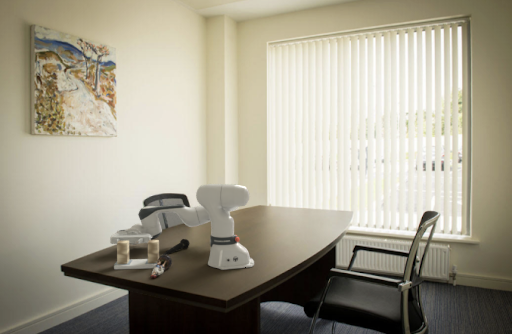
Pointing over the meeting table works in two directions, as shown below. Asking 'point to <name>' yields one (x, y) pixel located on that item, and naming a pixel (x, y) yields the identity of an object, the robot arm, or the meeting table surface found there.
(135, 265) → the white base board
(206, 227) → the meeting table surface
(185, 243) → the microphone
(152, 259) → the standing pillar
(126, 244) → the loose pillar
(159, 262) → the figurine
